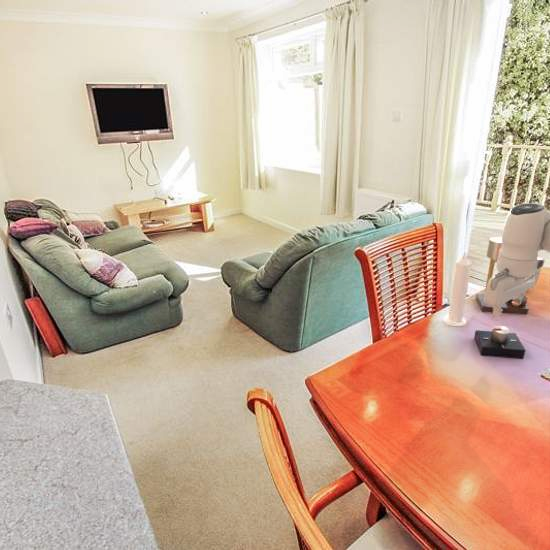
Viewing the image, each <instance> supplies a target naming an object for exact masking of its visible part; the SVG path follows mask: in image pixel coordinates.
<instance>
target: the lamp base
mask: <svg viewBox="0 0 550 550" xmlns="http://www.w3.org/2000/svg"><path fill="white" fill-rule="evenodd" d="M484 294H485V293H476V294H475V301H476V303H477V305H478V307H479V309H480V311H481V312H482V313H493V307H492V306H491V305H488V304H486V303H485V302H484ZM512 300H513V299H511V300H509V301H507V302H505V303H503V304H502V306H501V309H502V310H503V312H502V314H515V315H528V314H529V307H528V306H527V304H528V300H529V299H528V297H527V296H526V295H524V297H523V299H522V301H521V304H520V305H518V306H515V305H513V304H512Z"/></svg>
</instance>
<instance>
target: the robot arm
mask: <svg viewBox="0 0 550 550" xmlns="http://www.w3.org/2000/svg"><path fill="white" fill-rule="evenodd" d="M501 237H502V247H501V249H500V251H499V255H498V261H497V263H496V267H495V269H496V271H497V272H496V273H494V275H492V278H490V280H489V281H488V284H487V287H486V286H485V288H486V291H485V290H484V293H483V294H484V302H485V303H486V304H488V305H491V306H492V307H493V312H492V315H493V316H495V317H500V316H502V315H503V313H502V312H503V310H502V309H501V306H502V304H503V303H505V302H507V301H509V300H511V299H513V300H512V304H513V305H515V306H518V305H520V304H521V301H522V299H523V297H524V296H526V294H527V292H529V291H530V290H532V289H534V288H535V287H536V286H537V284H538V282H539V277H540V276H541V275H540V274H541V270H542V268H543V266H544V264H545V261H546V260H545V259H544V258H540V257H539V252H540V251H543V250H544V251H545V252H547V253H550V210H549V209H547V208H546V207H545V206H544V205H543V204H540V203H534V202H529V203H521V204H516V205H515V206H513V207H511V208H510V210H509V212H508V214H507V216H506V218H505V221H504V223H503V230H502V234H501ZM528 290H529V291H528ZM526 291H527V292H526Z"/></svg>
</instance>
